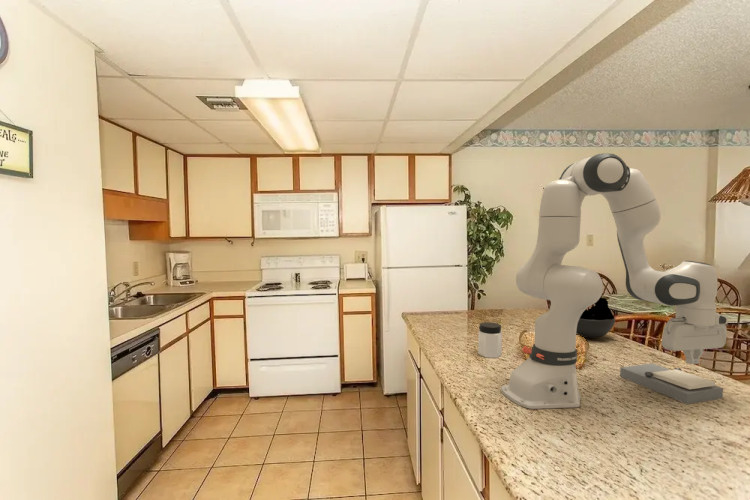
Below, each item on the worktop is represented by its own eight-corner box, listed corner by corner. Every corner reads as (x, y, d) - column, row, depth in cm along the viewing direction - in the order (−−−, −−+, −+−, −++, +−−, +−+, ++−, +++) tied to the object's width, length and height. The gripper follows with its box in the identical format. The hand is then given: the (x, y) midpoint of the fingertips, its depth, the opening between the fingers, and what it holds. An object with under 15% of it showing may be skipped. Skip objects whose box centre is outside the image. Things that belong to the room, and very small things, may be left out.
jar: (474, 352, 150) (474, 323, 149) (490, 350, 153) (490, 321, 153) (489, 359, 142) (489, 328, 141) (505, 356, 145) (506, 326, 144)
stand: (686, 404, 105) (687, 387, 105) (620, 376, 125) (620, 362, 125) (722, 398, 109) (723, 382, 109) (652, 371, 129) (652, 358, 129)
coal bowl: (620, 345, 158) (622, 301, 157) (568, 341, 165) (569, 299, 164) (607, 333, 177) (609, 293, 176) (561, 329, 184) (562, 291, 183)
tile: (651, 372, 117) (651, 376, 117) (689, 385, 106) (689, 390, 106) (675, 369, 120) (675, 373, 120) (715, 381, 109) (715, 386, 109)
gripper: (679, 320, 103) (676, 369, 104) (732, 318, 108) (729, 364, 109) (656, 315, 109) (654, 362, 110) (708, 313, 115) (705, 357, 115)
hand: (692, 363), depth 110 cm, fingers closed
